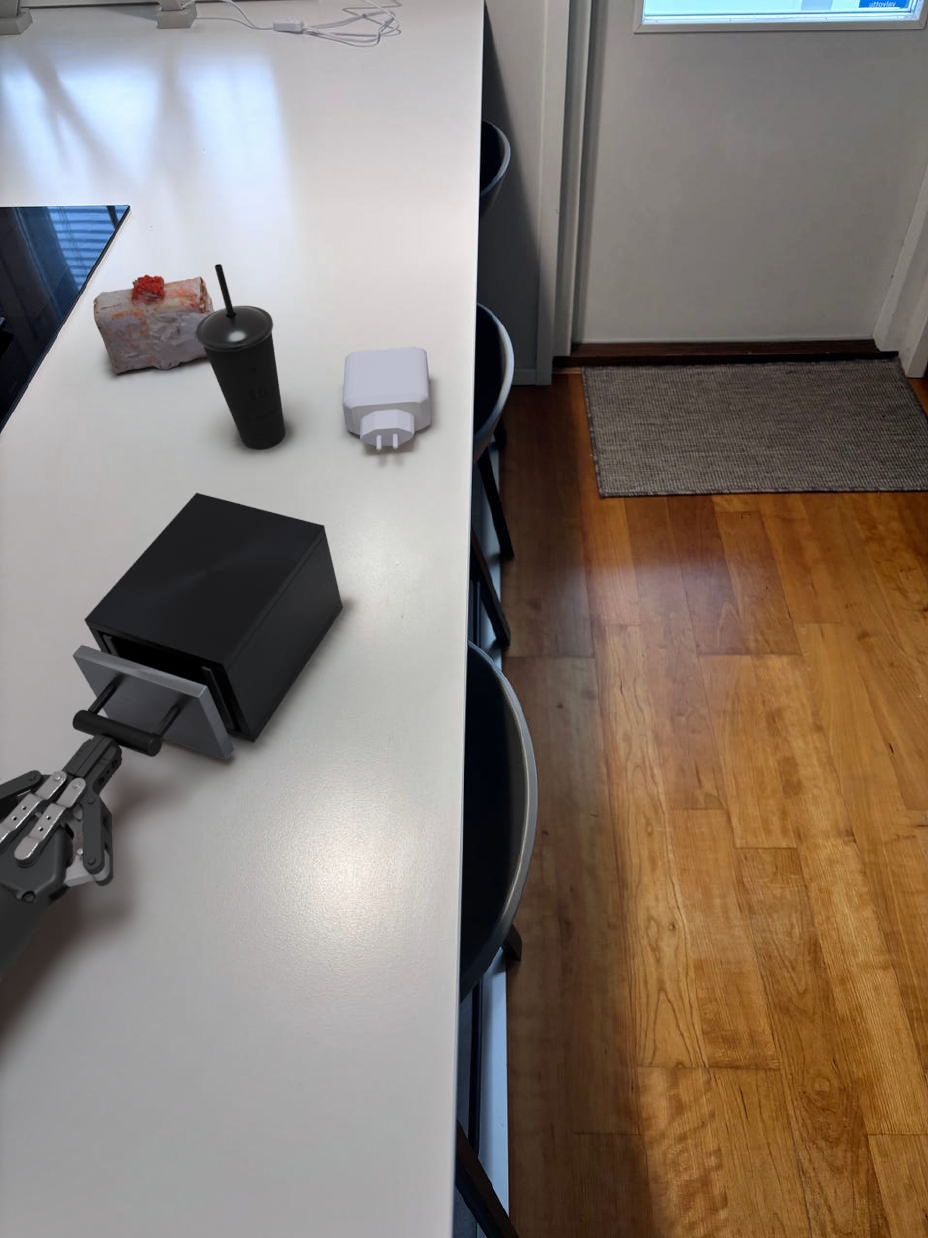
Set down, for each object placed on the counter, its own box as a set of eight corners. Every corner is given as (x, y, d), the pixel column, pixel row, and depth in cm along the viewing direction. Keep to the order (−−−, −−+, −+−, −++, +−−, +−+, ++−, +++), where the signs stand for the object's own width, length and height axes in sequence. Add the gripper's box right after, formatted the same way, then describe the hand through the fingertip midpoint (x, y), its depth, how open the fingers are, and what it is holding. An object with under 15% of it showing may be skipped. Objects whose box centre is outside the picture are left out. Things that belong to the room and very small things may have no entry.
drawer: (196, 805, 73) (165, 744, 67) (76, 760, 76) (34, 698, 70) (314, 630, 84) (297, 563, 78) (204, 597, 88) (179, 531, 81)
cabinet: (254, 742, 78) (223, 663, 70) (126, 698, 81) (83, 619, 74) (343, 607, 87) (324, 525, 79) (225, 574, 91) (196, 492, 83)
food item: (222, 328, 120) (201, 254, 113) (227, 362, 115) (206, 287, 108) (113, 348, 118) (84, 274, 111) (113, 384, 113) (83, 309, 106)
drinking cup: (215, 436, 105) (162, 266, 90) (272, 406, 108) (230, 237, 93) (253, 467, 101) (204, 295, 86) (311, 435, 104) (274, 264, 89)
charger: (346, 470, 100) (350, 387, 110) (433, 464, 100) (429, 381, 110) (339, 434, 96) (343, 351, 106) (429, 427, 96) (425, 345, 106)
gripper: (0, 972, 55) (170, 740, 66) (-164, 894, 59) (20, 686, 70) (50, 1016, 61) (199, 796, 71) (-103, 943, 65) (59, 744, 75)
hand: (110, 742), depth 70 cm, fingers closed
